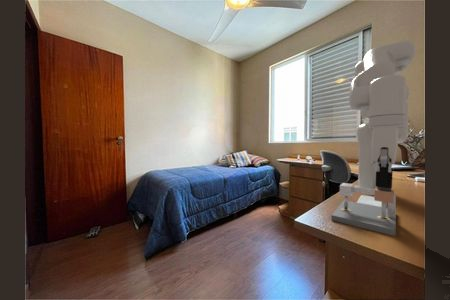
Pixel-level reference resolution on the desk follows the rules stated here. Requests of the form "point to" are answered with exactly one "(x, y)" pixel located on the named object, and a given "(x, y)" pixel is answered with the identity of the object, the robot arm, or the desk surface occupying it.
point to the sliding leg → (384, 197)
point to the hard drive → (369, 201)
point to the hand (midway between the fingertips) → (384, 183)
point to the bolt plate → (365, 217)
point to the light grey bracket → (350, 189)
